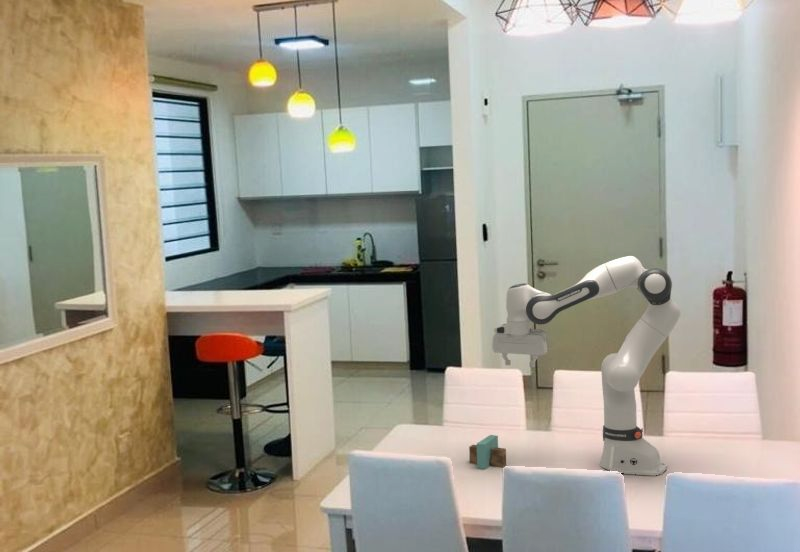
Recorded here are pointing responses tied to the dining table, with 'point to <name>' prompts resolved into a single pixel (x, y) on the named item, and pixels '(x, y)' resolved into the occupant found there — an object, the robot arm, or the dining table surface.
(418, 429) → the dining table surface
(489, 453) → the cross plate
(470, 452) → the stand plate
